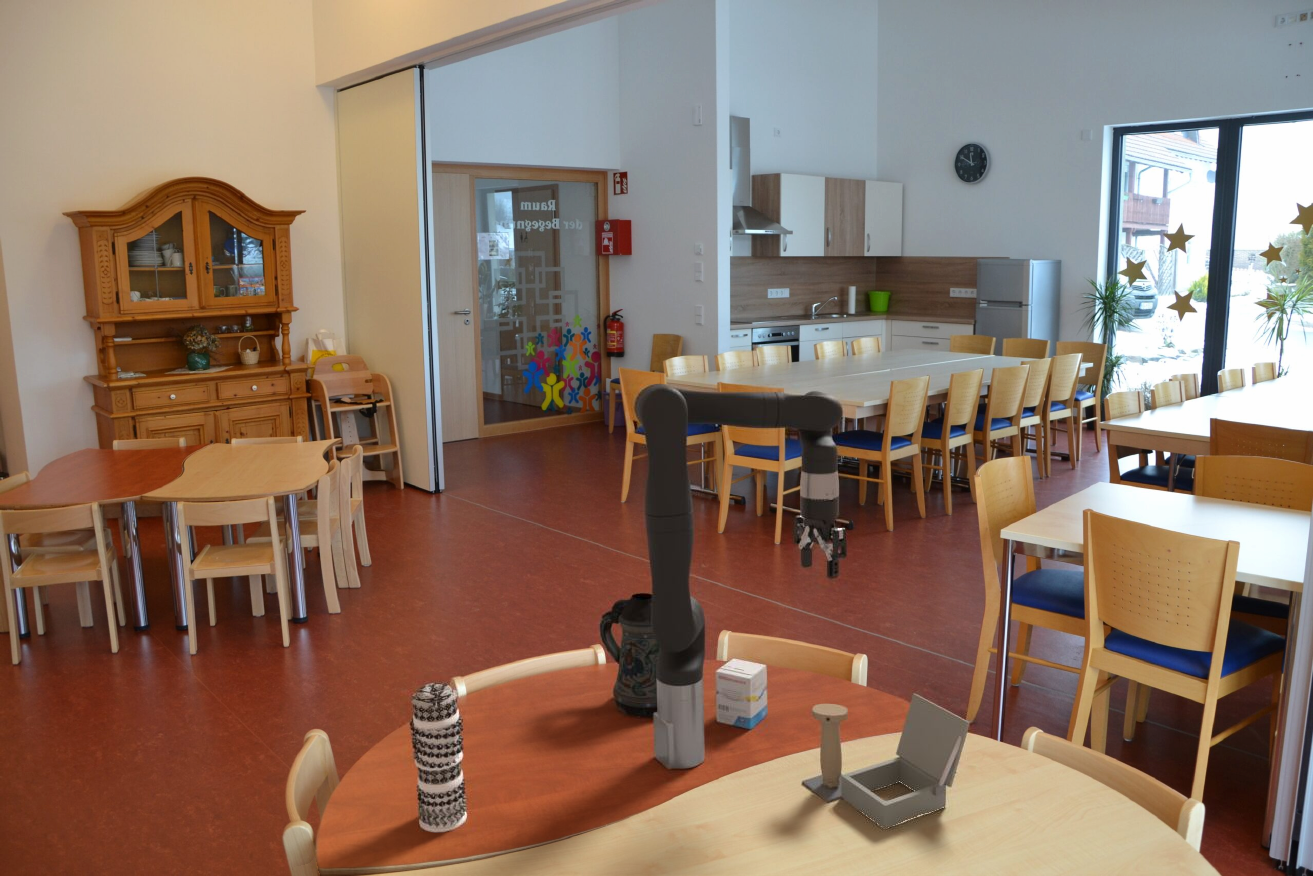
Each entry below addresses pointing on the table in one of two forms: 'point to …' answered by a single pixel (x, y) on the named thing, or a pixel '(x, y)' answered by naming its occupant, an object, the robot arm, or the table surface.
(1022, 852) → the table surface
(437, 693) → the decorative candle
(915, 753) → the case
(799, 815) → the table surface
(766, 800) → the table surface
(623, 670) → the beer stein
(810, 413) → the robot arm
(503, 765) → the table surface
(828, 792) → the mat
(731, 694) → the ink box
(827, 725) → the handle
